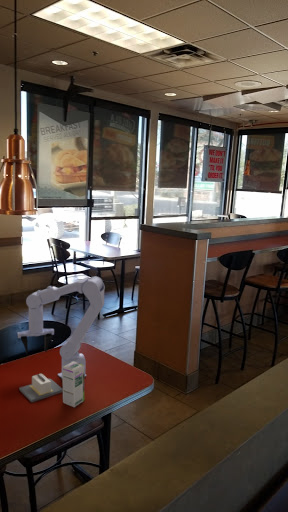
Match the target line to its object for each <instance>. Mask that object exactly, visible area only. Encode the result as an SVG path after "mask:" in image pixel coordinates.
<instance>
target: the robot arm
mask: <svg viewBox="0 0 288 512" xmlns="http://www.w3.org/2000/svg"><path fill="white" fill-rule="evenodd" d="M105 288H106V287H105V284H104V282H103V279H102V278H101V277H99V276H91V277H85V278H83V279H79V280H76V281H74V282H71V283H68V284H65V285H63V286H61V287H56V286H52V285H49V286H47V287H46V288H45V289H38V290H37V291H35V292H32V293H31V294H29V295H28V296H27V297H26V300H25V301H26V302H25V303H26V306H27V307H28V330H27V329H26V330H23V331H17V339H20V341H21V343H22V344H23V346H24V347H23V348H24V350H25V354H26V355H28V354H29V348H28V345H29V339H28V337H39V336H44V352H45V353H47V352H48V347H49V344H50V342H51V340H52V338H53V335H55V329H54V328H44V305H46V304H49V303H53V302H55V301H58V300H60V297H61V296H64V295H68V294H71V293H74V292H78V293H79V294H84V296H85V297H86V299H88V302H89V304H90V305H89V306H88V308H87V310H86V312H85V313H84V315H83V316H82V318H81V320H80V321H79V323H78V324H77V326H76V328H75V330H74V331H73V332H72V335H70V337H69V338H68V339H67V340H66V342H65V343H64V344H63V345H62V346H61V347H60V349H59V355H60V356H61V368H62V367H63V366H65V365H67V364H69V363H71V362H73V361H74V362H78V363H81V364H83V365H84V378H85V377H87V373H86V365H87V364H86V363H87V362H86V357H85V355H84V354H83V353H79V350H80V349H81V346H82V342H83V340H84V338H85V336H86V334H87V333H88V331H89V330H90V328H91V326H92V325H93V323H94V321H95V320H96V318H97V317H98V315H99V314H100V312H101V311H102V308H103V307H104V305H105ZM57 376H58V377H60V378H61V380H63V374H62V372H60V373H57Z"/></svg>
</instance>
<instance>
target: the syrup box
mask: <svg viewBox="0 0 288 512" xmlns="http://www.w3.org/2000/svg"><path fill="white" fill-rule="evenodd" d="M61 373H62V374H63V379H62V389H63V392H62V402H63V403H64V405H65V404H66V405H67V406H70V407H73V408H76V407H77V406H79V405H80V404H81V403H84V401H85V377H84V365H83V364H81V363H78V362H74V361H73V362H71V363H69V364H67V365H65V366H63V367H62V366H61Z"/></svg>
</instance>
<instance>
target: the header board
mask: <svg viewBox="0 0 288 512" xmlns="http://www.w3.org/2000/svg"><path fill="white" fill-rule="evenodd" d="M48 379H49V380H50V381H51V391H50V392H47V393H44V394H40V393H39V392H38V391H37V390H36V389H35V388H34V387H33V386H32V383H31V384H28V385H25V386H24V385H23V386H20V387H19V391H20V392H21V393H22V395H24V397H25V398H26V399H28V400H29V402H30V403H35V402H37V401H41V400H43V399H46V398H49V397H53V396H56V395H58V394H60V393H61V394H62V393H63V387H61V386H60V385H59V384H57V382H55V381H54V380H53V379H51V378H48Z"/></svg>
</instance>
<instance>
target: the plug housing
mask: <svg viewBox="0 0 288 512" xmlns="http://www.w3.org/2000/svg"><path fill="white" fill-rule="evenodd" d="M49 379H50V378H47V377H46V376H45V375H44V374H43V373H39V374H35V375H32V376H31V384H32V386H33V387H34V388H35V389H36V390H37V391H38V392H39V393H40V394H44V393H47V392H50V391H51V381H50V380H49Z"/></svg>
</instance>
